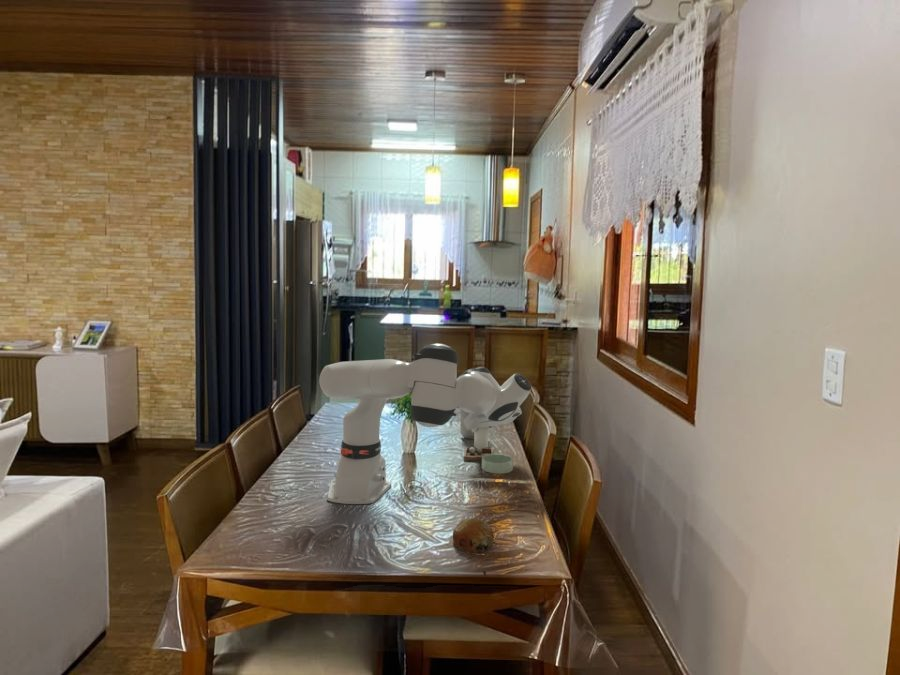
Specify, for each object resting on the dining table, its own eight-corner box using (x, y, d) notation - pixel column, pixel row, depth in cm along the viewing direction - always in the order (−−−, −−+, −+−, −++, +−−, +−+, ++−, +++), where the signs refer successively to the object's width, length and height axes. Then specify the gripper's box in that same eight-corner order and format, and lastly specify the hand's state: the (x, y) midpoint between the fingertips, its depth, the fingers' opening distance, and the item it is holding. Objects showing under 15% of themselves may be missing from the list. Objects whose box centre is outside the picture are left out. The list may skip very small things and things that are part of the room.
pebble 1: (475, 455, 219) (475, 448, 219) (468, 454, 219) (468, 448, 219) (475, 453, 221) (475, 446, 221) (468, 452, 221) (469, 446, 221)
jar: (488, 448, 213) (489, 417, 211) (473, 447, 213) (474, 417, 212) (488, 444, 218) (489, 414, 216) (473, 443, 218) (474, 413, 217)
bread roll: (491, 552, 155) (491, 519, 157) (496, 552, 145) (495, 517, 147) (452, 552, 154) (452, 518, 157) (454, 552, 144) (454, 517, 147)
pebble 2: (482, 454, 219) (482, 448, 219) (476, 454, 220) (476, 448, 219) (482, 452, 222) (482, 447, 221) (476, 452, 222) (476, 446, 222)
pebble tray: (492, 465, 211) (492, 458, 211) (463, 463, 212) (464, 456, 212) (492, 455, 222) (493, 448, 222) (465, 454, 223) (465, 447, 223)
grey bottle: (483, 435, 248) (485, 367, 245) (484, 443, 238) (486, 372, 234) (459, 435, 248) (461, 367, 245) (459, 442, 238) (461, 371, 235)
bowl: (512, 476, 200) (513, 464, 199) (481, 475, 201) (481, 462, 200) (512, 466, 210) (512, 454, 210) (481, 465, 211) (482, 453, 210)
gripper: (479, 419, 199) (460, 441, 208) (525, 412, 210) (506, 433, 220) (471, 403, 202) (453, 425, 211) (517, 397, 214) (498, 418, 223)
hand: (480, 429), depth 215 cm, fingers closed on jar, 5 cm apart
